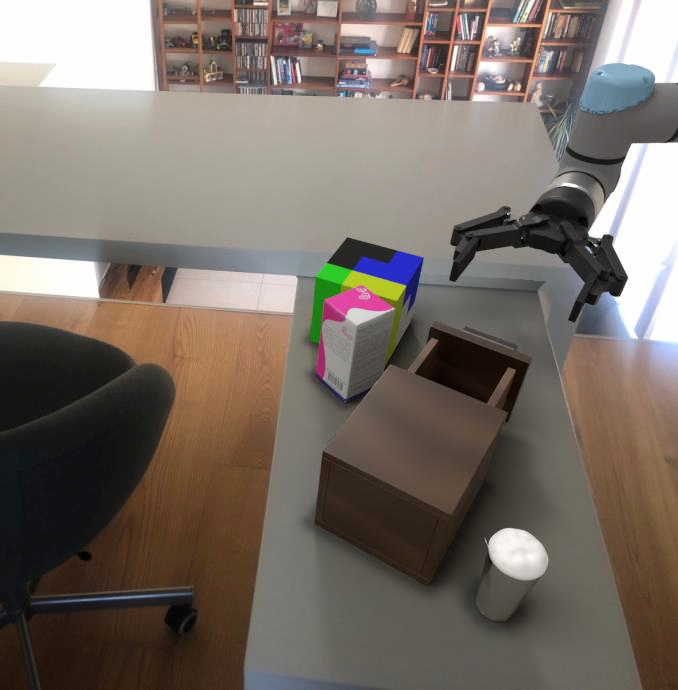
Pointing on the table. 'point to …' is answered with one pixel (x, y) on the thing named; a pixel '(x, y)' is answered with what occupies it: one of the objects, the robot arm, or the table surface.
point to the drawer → (473, 365)
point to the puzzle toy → (370, 282)
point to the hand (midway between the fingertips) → (512, 291)
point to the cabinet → (406, 470)
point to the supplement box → (354, 342)
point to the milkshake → (509, 572)
